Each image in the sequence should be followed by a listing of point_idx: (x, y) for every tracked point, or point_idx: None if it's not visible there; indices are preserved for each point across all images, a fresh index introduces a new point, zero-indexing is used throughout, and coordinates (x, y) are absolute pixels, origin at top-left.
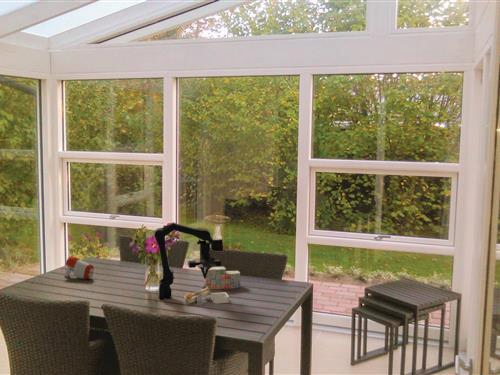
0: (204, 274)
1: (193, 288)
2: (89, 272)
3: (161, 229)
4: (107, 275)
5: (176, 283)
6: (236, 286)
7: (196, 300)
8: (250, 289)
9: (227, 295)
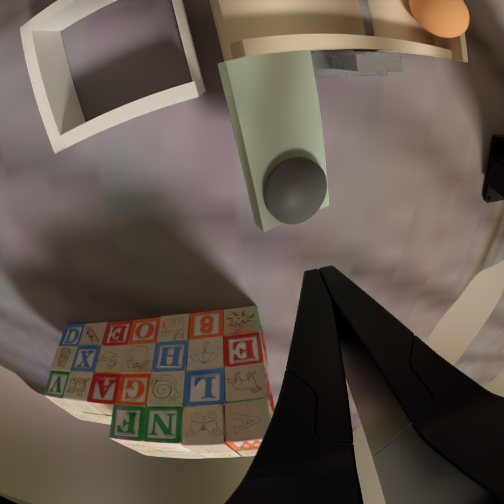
0: (355, 321)
1: None
2: None
3: None
4: (497, 354)
5: None
6: (78, 330)
7: None
8: (19, 302)
9: (32, 59)
